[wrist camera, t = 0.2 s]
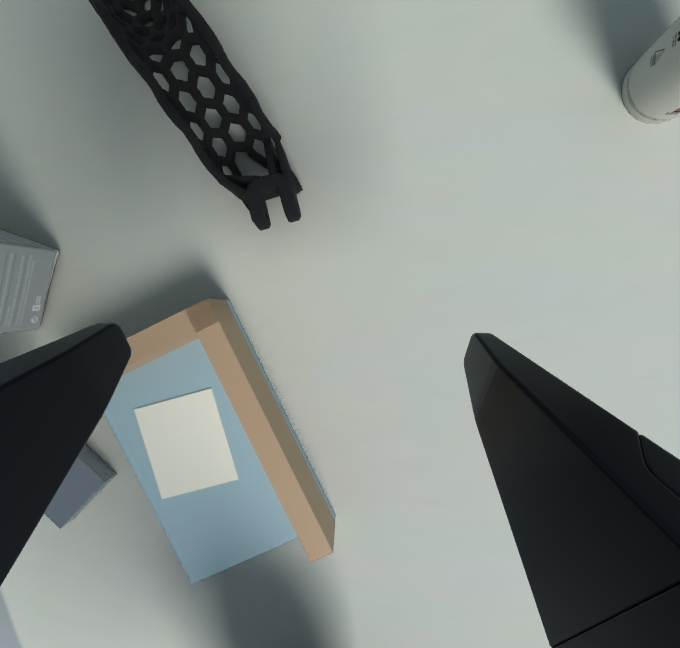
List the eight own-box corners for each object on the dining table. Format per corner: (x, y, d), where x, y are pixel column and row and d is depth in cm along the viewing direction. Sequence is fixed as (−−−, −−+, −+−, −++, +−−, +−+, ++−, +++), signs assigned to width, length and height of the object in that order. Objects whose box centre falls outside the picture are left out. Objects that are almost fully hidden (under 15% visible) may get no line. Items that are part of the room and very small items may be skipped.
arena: (335, 515, 24) (333, 552, 20) (195, 577, 24) (169, 624, 21) (229, 299, 23) (207, 298, 19) (88, 369, 24) (42, 380, 20)
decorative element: (93, -2, 23) (2, -109, 17) (147, -48, 22) (73, -175, 16) (274, 254, 23) (247, 237, 17) (330, 213, 23) (322, 181, 17)
